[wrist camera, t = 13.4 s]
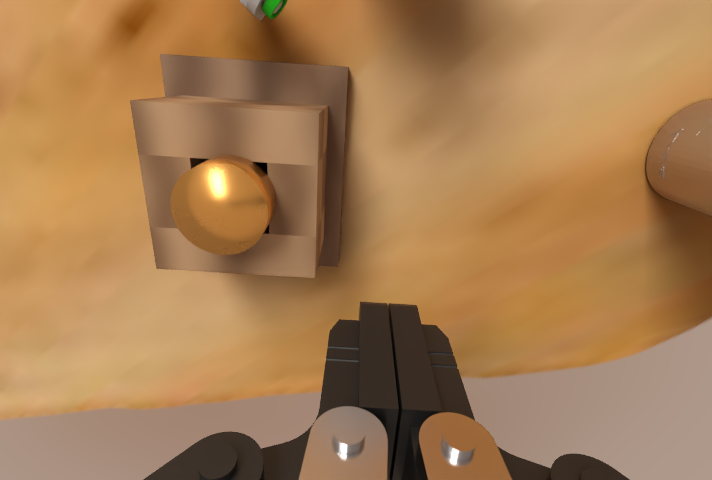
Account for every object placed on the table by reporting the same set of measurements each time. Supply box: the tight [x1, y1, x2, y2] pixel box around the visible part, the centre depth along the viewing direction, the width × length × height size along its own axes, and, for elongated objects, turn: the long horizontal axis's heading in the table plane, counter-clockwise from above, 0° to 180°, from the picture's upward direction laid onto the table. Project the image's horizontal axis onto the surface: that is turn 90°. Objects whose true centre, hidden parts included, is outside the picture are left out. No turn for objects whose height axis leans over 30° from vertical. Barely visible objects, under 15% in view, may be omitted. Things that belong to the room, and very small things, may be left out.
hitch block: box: [130, 54, 349, 278], centre depth 31 cm, size 15×18×10 cm
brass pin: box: [170, 155, 276, 255], centre depth 28 cm, size 6×6×10 cm
